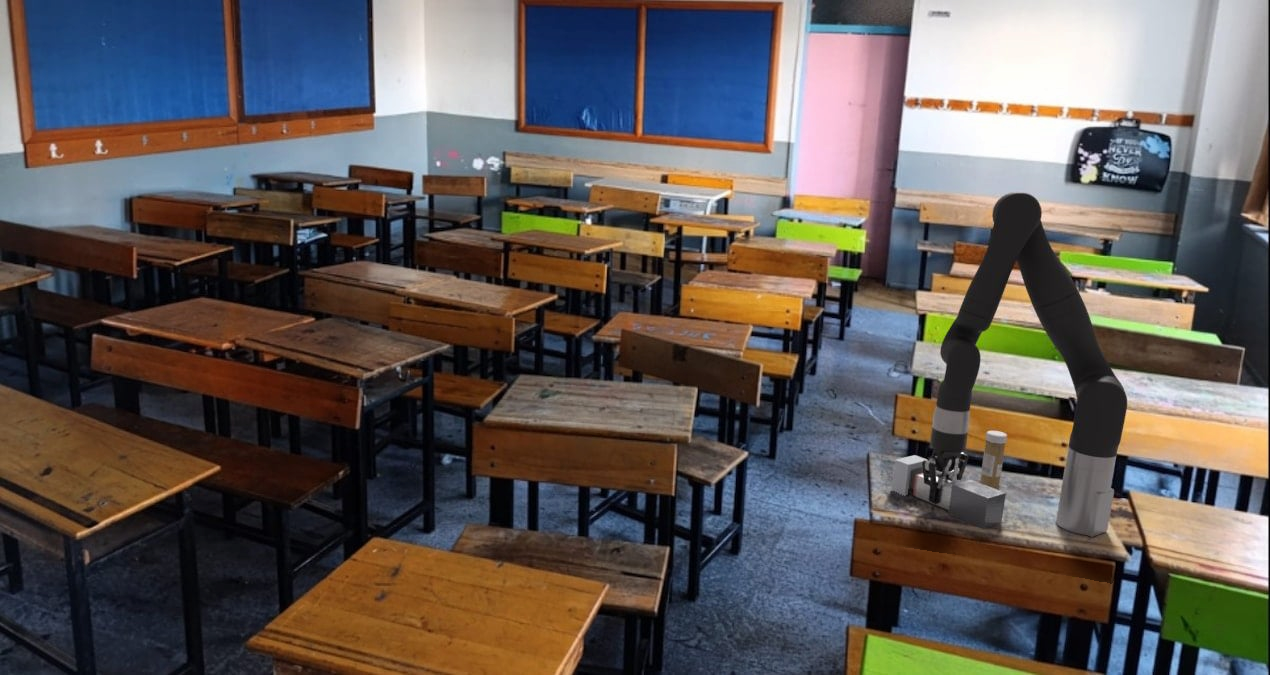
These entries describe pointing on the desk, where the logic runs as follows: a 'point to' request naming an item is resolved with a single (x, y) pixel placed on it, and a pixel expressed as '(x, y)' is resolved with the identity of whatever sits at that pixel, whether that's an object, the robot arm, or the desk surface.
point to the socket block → (906, 473)
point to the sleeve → (977, 503)
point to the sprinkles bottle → (993, 459)
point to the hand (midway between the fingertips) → (940, 500)
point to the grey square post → (923, 491)
